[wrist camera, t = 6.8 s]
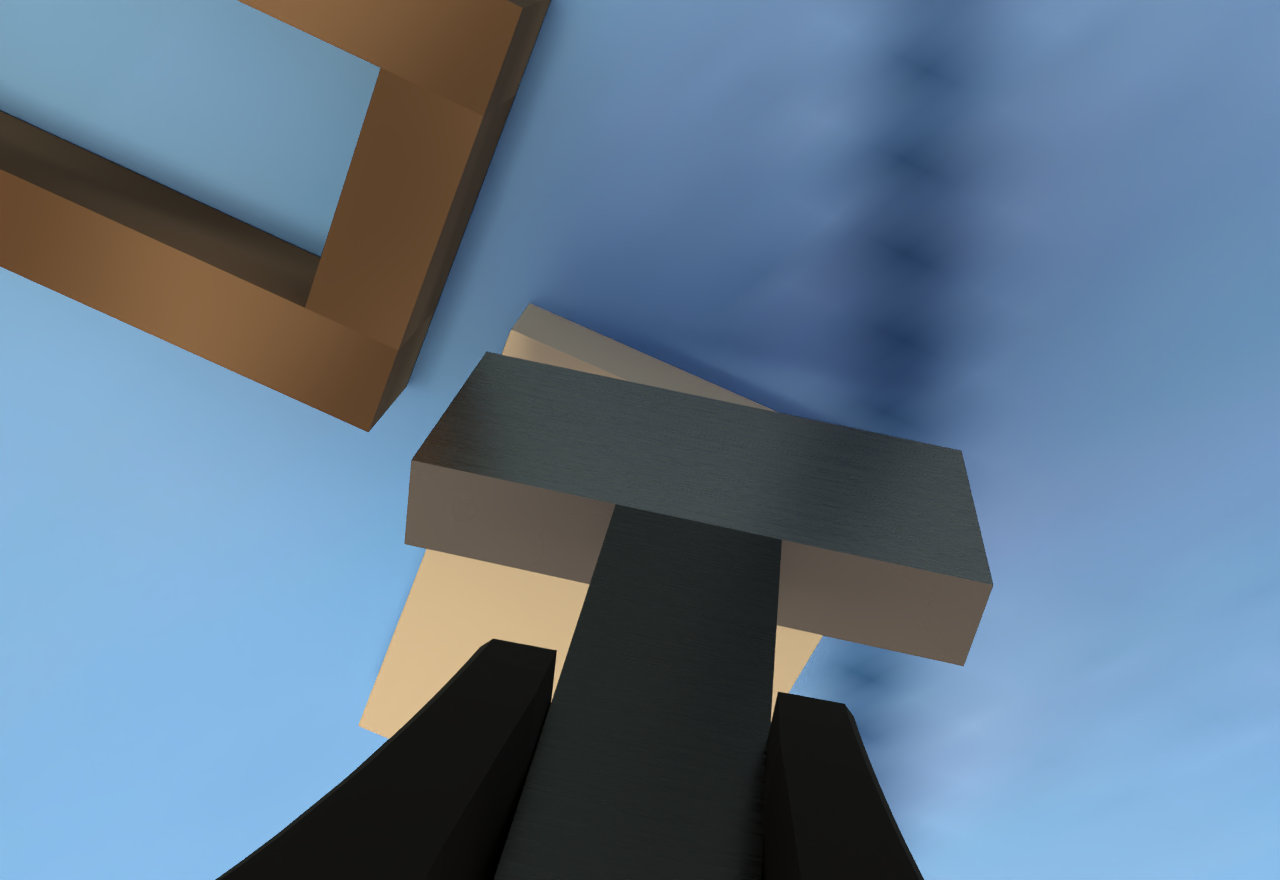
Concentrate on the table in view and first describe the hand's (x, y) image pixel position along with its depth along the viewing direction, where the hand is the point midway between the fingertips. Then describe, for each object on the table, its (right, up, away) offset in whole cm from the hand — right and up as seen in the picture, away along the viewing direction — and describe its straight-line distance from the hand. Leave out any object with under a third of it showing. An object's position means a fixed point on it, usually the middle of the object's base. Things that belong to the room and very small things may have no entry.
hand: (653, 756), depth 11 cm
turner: (+1, +3, +6) cm, 7 cm away
